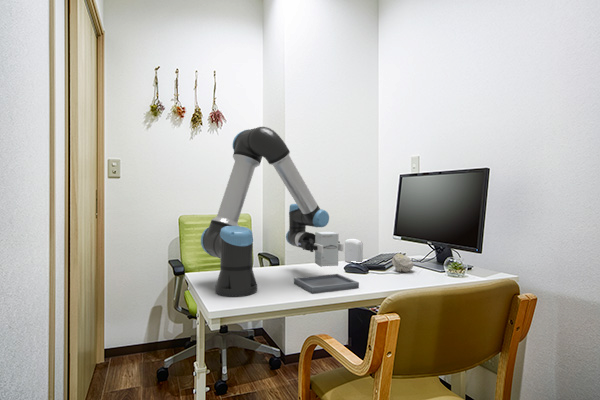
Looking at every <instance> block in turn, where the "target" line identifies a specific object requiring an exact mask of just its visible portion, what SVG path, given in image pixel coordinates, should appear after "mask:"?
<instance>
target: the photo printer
mask: <svg viewBox="0 0 600 400" xmlns="http://www.w3.org/2000/svg"><path fill="white" fill-rule="evenodd" d="M363 245H364V244H363V242H362V241H361V240H360V239H357V238H348V239H346V240H345V241H344V262H347V263H351V261H356V262H362V261H363V262H364V257H363V256H364V255H363V254H364V253H363V252H364V251H363V248H364V246H363Z"/></svg>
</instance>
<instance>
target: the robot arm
mask: <svg viewBox="0 0 600 400" xmlns="http://www.w3.org/2000/svg"><path fill="white" fill-rule="evenodd" d="M232 149H233V154H232V158H233V160H234V163H233V166H232V169H231V172H230V175H229V179H228V182H227V184H226V188H225V191H224V194H223V196H222V200H221V201H220V205H219V209H218V210H217V211H218V212H217V215H216V217H213V218H212V219H211V220H210V223H209V226H208V227H207V228H204V230H203V232H202V233H201V235H200V245H201V248H202V249H203V251H204V252H206V254H208V255H209V256H211V257H215V258H219V263H220V265H219V266H220V270H219V275H218V277H217V280H216V284H215V286H214V287H215V290H214V291H215V294H217V295H219V294H220V295H219V296H223V295H224V296H223V297H244V296H250V295H252V294H255V293H257V292H258V283H257V280H256V277H255V274H254V271H253V262H254V261H253V255H254V254H253V251H254V249H253V248H254V246H253V245H254V243H253V242H254V237H253V235H254V234H253V231H252V230H251V229H250V228H249V227H245V226H240V225H239V224H238V222H239V218H240V215H241V212H242V210H243V207H244V204H245V199H246V196H247V195H248V194H247V193H248V191H249V188H250V184H251V182H252V179H253V177H254V176H253V175H254V171H255V169H256V168H257V167H260V165H261V161H262V159H263V158H264V159H265V160H266V161H267V163H268V164H269V165H270V166H272V167H274V169H275V171H276V173H277V175H278V176H279V177H280V179H281V181H282V183H283V184H284V186H285V187H286V189H287V191H288V193H289V194H290V195H291V197H292V200H294V202H295V203H291V204H290V205H289V210H288V211H289V212H288V217H289V219H288V220H289V221H288V223H289V228H288V231H287V233H286V235H285V238H286V242H287V243H288V244H289V245H291V246H293V247H297V248H299V249H302V250H304V251H310V253H314V252H315V251H317V252H320V253H323V245H319V244H316V243H315V233H313V232H308V231H306V230H307V229H306V228H307V227H312V228H313V227H314V228H324V227H326V226H327V225H328V224H329V222H330V215H329V213H328V211H327V210H324V209H322V208H320V206H319V205H318V203H317V201H316V200H315V197H314V195H313V194H312V193H311V191H310V189H309V188H308V185H307V184H306V182H305V180H304V179H303V176H302V175H301V173H300V171H299V170H298V168H297V167H296V164H295V163H294V162H293V159H292V158H291V156H290V154H291V151H290V149H289V148H288V146H287V144H286V143H285V141H284V140H283V139H282V137H281V136H280V135H279V134H278V133H277V132H276V131H275V130H274V129H272V128H270V127H268V126H258V127H254V128H251V129H249V128H248V129H244V130H242V131H240V132H238V133H237V134H236V136H235V137H234V139H233V141H232ZM338 252H344V243H340V241H339V240H338Z"/></svg>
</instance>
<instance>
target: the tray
mask: <svg viewBox="0 0 600 400" xmlns="http://www.w3.org/2000/svg"><path fill="white" fill-rule="evenodd" d="M293 284H294V285H296V286H298V287H299V288H301V289H303V290H304V291H306V292H308V293H310V294H312V295H313V294H320V293H329V292H330V293H332V292H337V291H338V292H339V291H345V290H353V289H355V290H356V289H359V287H360V282H359V281H356V280H354V279H351V278H349V277H347V276H344V275H341V274H339V273H331V274H330V273H329V274H321V275H313V276H302V277H294V278H293Z"/></svg>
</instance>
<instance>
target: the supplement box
mask: <svg viewBox="0 0 600 400" xmlns="http://www.w3.org/2000/svg"><path fill="white" fill-rule="evenodd" d="M314 234H315V243H316V244H319V245H323V253H320V252H317V251H314V264H315V265H317V266H319V267H338V266H339V250H338V241H339V233H338V232H335V231H315V233H314Z"/></svg>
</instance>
